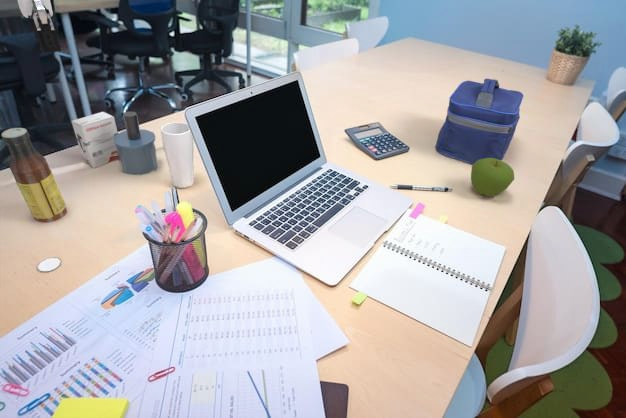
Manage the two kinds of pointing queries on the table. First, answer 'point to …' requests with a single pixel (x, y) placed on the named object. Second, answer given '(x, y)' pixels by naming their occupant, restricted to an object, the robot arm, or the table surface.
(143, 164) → the canister
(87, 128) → the ink box
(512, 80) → the table surface
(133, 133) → the canister lid
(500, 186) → the apple
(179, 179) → the drinking glass
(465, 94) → the lunch bag
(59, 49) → the robot arm
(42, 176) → the sauce bottle
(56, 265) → the white flat disc
